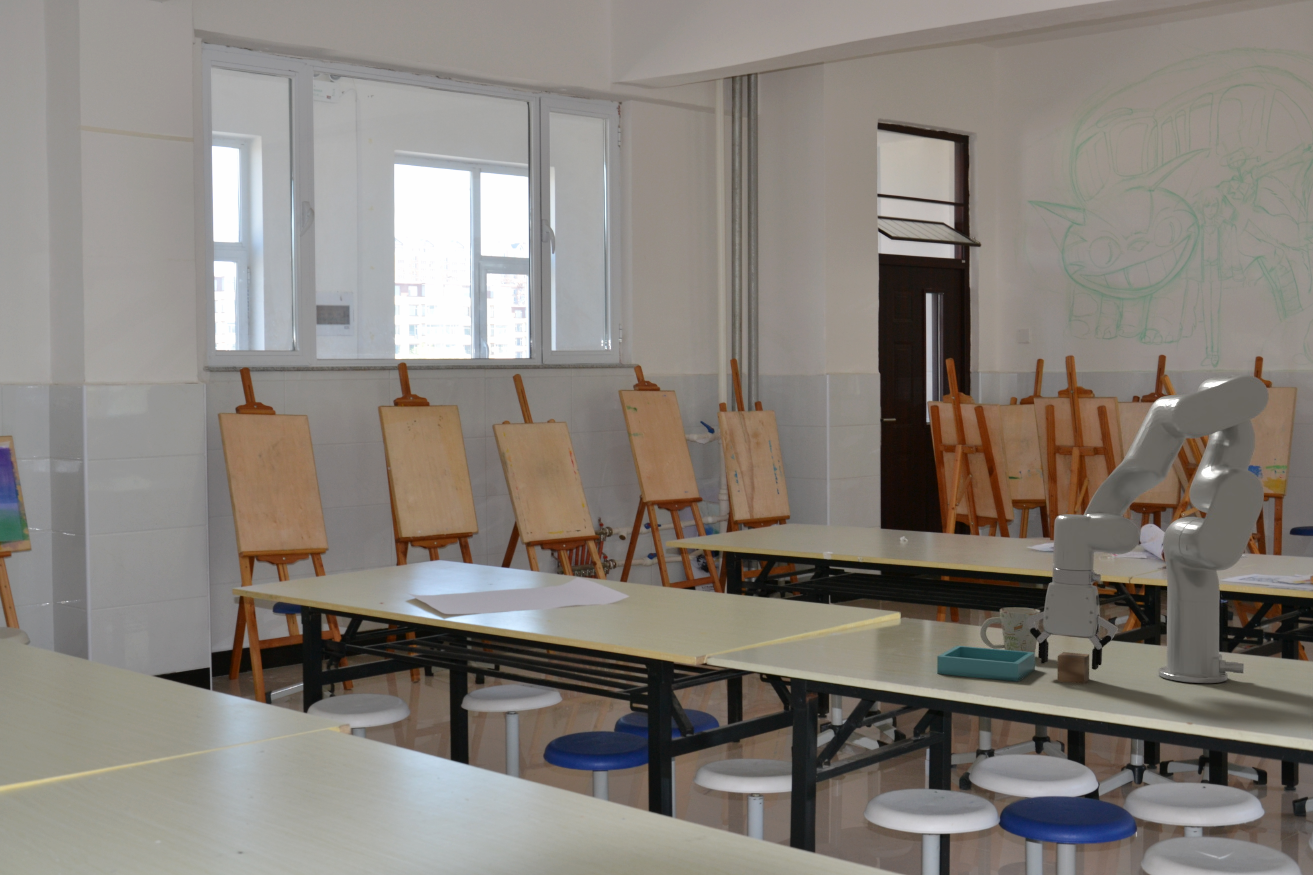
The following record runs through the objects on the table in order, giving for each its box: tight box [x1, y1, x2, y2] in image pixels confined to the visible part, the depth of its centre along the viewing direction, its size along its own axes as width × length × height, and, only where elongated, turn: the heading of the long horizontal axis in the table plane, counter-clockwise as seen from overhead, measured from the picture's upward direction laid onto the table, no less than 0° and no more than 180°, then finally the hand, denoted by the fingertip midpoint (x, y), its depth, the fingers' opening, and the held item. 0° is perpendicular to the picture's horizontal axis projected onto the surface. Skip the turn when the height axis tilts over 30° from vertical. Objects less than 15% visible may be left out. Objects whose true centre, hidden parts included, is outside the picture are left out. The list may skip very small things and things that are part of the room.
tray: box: [936, 645, 1036, 683], centre depth 258 cm, size 16×14×4 cm
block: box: [1056, 651, 1090, 685], centre depth 250 cm, size 5×5×5 cm
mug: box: [979, 606, 1041, 653], centre depth 274 cm, size 8×13×10 cm, turn 89°
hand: (1069, 665), depth 250 cm, fingers open, 9 cm apart
